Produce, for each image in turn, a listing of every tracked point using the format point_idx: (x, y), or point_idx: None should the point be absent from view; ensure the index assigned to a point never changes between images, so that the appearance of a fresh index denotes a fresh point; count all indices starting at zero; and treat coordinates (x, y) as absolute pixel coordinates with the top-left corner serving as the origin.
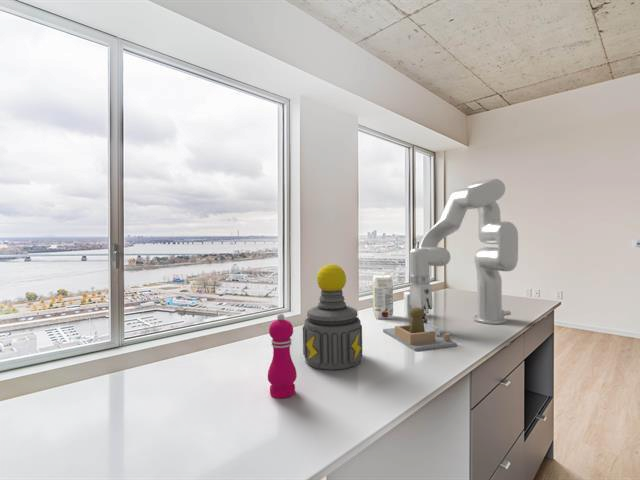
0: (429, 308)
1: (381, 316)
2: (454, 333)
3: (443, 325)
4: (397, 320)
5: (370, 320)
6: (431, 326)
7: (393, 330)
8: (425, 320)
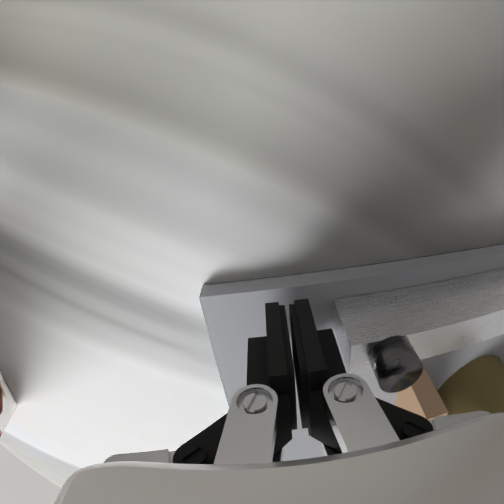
0: (446, 428)
1: (5, 400)
2: (439, 66)
3: (155, 18)
4: (9, 334)
5: (46, 432)
6: (497, 334)
7: (293, 456)
8: (416, 371)
